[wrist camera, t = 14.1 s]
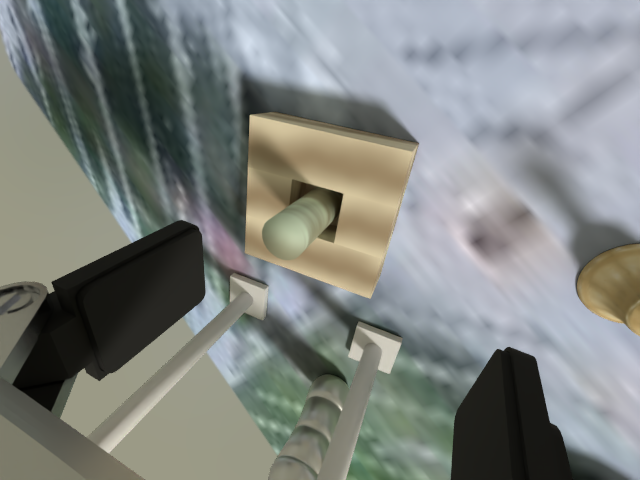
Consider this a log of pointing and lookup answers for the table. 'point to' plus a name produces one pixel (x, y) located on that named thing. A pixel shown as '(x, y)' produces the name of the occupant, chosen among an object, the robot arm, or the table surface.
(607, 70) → the table surface
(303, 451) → the plastic bottle
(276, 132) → the socket block
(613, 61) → the table surface
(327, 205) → the peg
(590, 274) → the hand bell
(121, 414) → the two-post wooden stand
